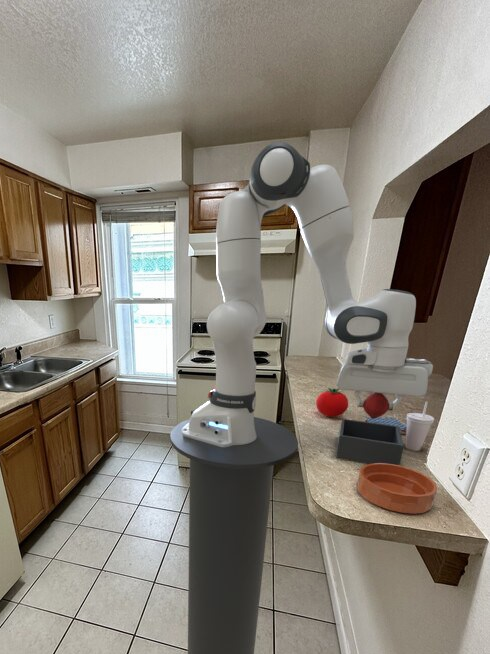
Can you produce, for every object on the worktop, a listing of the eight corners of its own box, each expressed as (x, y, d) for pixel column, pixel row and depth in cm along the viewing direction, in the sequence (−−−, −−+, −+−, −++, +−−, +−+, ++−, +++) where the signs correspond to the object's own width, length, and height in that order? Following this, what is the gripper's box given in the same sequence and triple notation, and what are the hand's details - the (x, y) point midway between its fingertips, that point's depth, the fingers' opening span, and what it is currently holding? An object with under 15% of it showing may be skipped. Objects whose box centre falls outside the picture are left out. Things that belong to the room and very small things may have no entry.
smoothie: (425, 454, 97) (438, 406, 92) (398, 449, 101) (409, 402, 96) (426, 446, 102) (439, 400, 97) (400, 441, 106) (411, 396, 101)
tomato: (349, 421, 121) (354, 393, 118) (317, 420, 123) (321, 392, 120) (341, 411, 131) (346, 385, 127) (311, 410, 133) (315, 384, 129)
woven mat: (375, 433, 111) (376, 427, 111) (362, 421, 121) (363, 416, 120) (410, 435, 110) (412, 429, 109) (395, 422, 120) (396, 417, 119)
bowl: (356, 504, 76) (360, 486, 74) (357, 474, 88) (360, 458, 86) (437, 522, 70) (443, 503, 68) (426, 488, 81) (430, 470, 80)
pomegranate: (377, 414, 98) (382, 386, 95) (390, 421, 93) (397, 392, 90) (356, 415, 98) (361, 387, 95) (369, 422, 93) (374, 393, 90)
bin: (335, 458, 96) (339, 435, 94) (338, 438, 108) (341, 418, 106) (398, 469, 90) (404, 445, 88) (393, 447, 102) (398, 426, 100)
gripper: (432, 357, 88) (419, 409, 93) (341, 352, 97) (334, 400, 101) (437, 362, 83) (423, 417, 87) (340, 356, 91) (333, 406, 96)
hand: (375, 408), depth 94 cm, fingers closed on pomegranate, 6 cm apart
